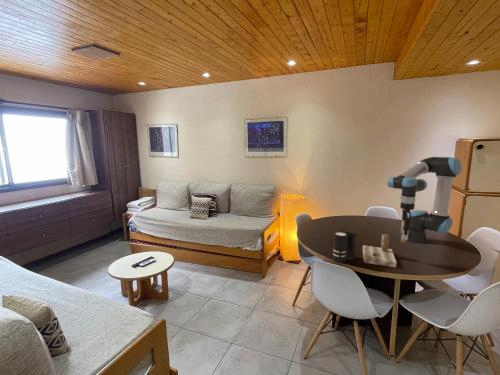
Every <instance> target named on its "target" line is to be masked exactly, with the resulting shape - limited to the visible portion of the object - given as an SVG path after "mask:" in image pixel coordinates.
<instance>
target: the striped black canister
mask: <svg viewBox="0 0 500 375" xmlns="http://www.w3.org/2000/svg"><path fill="white" fill-rule="evenodd" d="M332 246H333V247H332V261H333V262H335V263H339V264H345V263H346V261H347V259H349V260H351V261H353V260H355V258H356V246H357V232H355V231H352V230H348V229H345V228H343V229H341V231H335V232H333V245H332Z"/></svg>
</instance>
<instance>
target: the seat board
mask: <svg viewBox="0 0 500 375" xmlns="http://www.w3.org/2000/svg"><path fill="white" fill-rule="evenodd" d="M389 241H390V235H389V234H386V233H383V234H381V242H380V243H381V245H380V247H377V246H373V245H372V246H371V245H362V257H363V258H362V260H363V263H365V264H372V265H379V266H384V267H389V268H390V267H391V268H397V260H396V257H395V255H394V252H393V249H392V248H389V245H390V244H389Z"/></svg>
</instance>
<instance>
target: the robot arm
mask: <svg viewBox="0 0 500 375" xmlns="http://www.w3.org/2000/svg"><path fill="white" fill-rule="evenodd" d="M461 172H462V162H461V160H460V159H459V158H458V157H452V156H448V157H447V156H445V157H444V156H431V157H426V158H424V159H421V160H419V161H417V162H416V163H415V164H414V166H412V167H411V168H408V169H407V170H405V171H404V172H402V173H400V174H399V175H398V176H390V177H388V179H387V183H386V184H387V187H388V188H391V189H396V190H401V194H400V197H399V199H400V204H399V208H400V209H402V215H401V221H402V220H404V229H403V238H402V239H404V240H407V241H409V242H412V243H418V244H426V243H428V236H427V230H428V231H432V232H436V233H440V234H447V233H449V232H450V230H451V228H452V226H453V219H452V218H451V215H450V213H449V208H450V207H449V206H450V200H451V193H452V189H453V188H452V187H453V181H454V180H455V179H456V178H457V175H460V174H461ZM428 173H430V174H431V173H433V174H435V177H436V178H437V182H436V188H435V194H434V195H435V196H434V202H433V207H432V208H433V209H432V211H430V212H429V211H428V210H422V209H421V210H418V209H416V210H415V203H416V197H417V196H416V194H417V192H422V191H425V190H426V189H427V187H428V183H427V181H426V180H425V179H423V178H422V179H421V178H418V177H420V176H421V175H424V174H428ZM400 225H402V222H401V224H400ZM408 230H409V234H408Z"/></svg>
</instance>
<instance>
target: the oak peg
mask: <svg viewBox="0 0 500 375" xmlns="http://www.w3.org/2000/svg"><path fill="white" fill-rule="evenodd" d="M401 223H402V224H401V228H400V242H401V243H402V244H407V243H408V240H404V239H402V238H403V229H404V220H402V219H401ZM408 234H409V230H408Z"/></svg>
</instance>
